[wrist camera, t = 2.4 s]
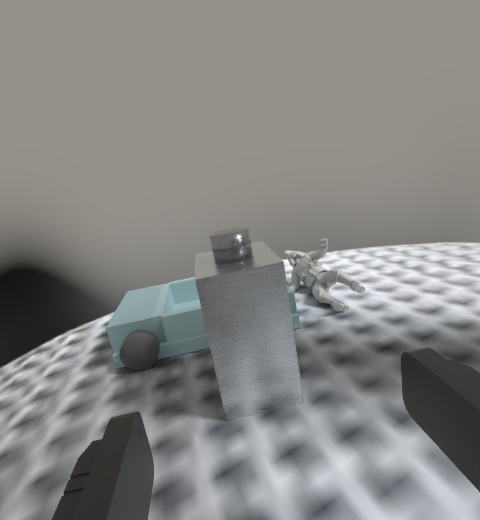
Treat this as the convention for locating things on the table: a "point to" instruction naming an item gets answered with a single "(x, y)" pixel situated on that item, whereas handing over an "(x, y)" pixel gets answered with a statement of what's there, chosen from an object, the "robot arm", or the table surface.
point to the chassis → (162, 324)
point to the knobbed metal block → (248, 324)
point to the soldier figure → (319, 276)
